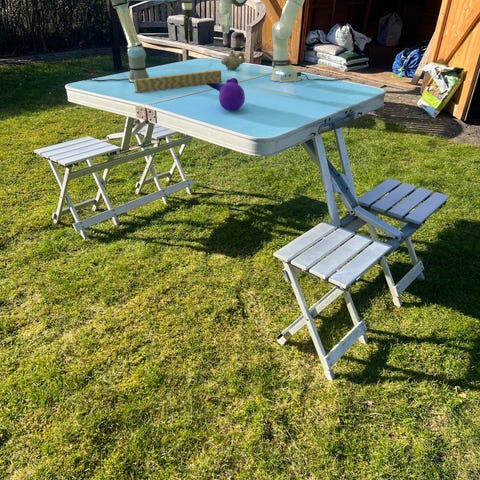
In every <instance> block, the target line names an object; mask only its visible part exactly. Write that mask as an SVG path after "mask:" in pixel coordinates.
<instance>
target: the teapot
mask: <svg viewBox="0 0 480 480" xmlns="http://www.w3.org/2000/svg"><path fill="white" fill-rule="evenodd" d="M239 58H240V59H239ZM244 63H245V54H244V52H242V51H240V52H239V53H237V54H236V53H235V52H234V50H230V53H229V54H228V56H224V57H222V59H221V64H222V65H224V66H225V68H226V69H227V70H228V71H235V70H237V69H239V67H240V66H241V65H243V64H244Z"/></svg>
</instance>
